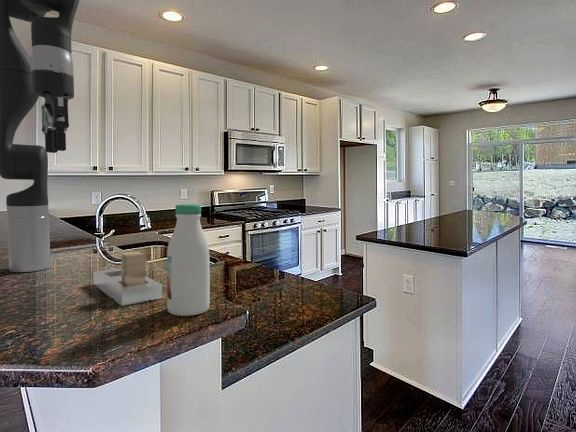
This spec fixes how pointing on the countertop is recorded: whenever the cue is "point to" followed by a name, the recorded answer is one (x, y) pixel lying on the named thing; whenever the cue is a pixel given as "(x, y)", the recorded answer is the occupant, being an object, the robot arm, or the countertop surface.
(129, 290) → the white slotted block
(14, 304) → the countertop surface
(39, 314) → the countertop surface
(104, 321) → the countertop surface
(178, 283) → the milk bottle
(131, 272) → the beech peg
